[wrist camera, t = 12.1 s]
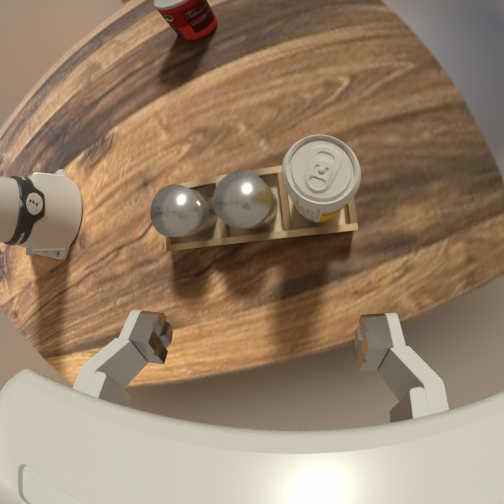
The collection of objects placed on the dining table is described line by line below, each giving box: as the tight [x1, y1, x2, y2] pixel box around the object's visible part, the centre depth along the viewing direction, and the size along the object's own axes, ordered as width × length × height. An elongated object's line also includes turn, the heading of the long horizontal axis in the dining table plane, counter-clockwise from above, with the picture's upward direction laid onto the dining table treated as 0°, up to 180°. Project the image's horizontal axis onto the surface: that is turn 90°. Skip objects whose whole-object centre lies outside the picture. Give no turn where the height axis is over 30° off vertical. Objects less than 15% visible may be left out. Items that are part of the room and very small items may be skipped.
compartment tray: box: [165, 166, 358, 251], centre depth 35 cm, size 25×9×4 cm, turn 96°
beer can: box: [281, 135, 361, 222], centre depth 26 cm, size 6×6×15 cm
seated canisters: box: [150, 171, 278, 237], centre depth 32 cm, size 14×6×7 cm, turn 96°
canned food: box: [154, 0, 217, 41], centre depth 32 cm, size 8×8×11 cm
